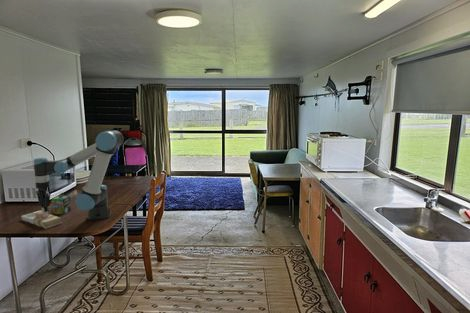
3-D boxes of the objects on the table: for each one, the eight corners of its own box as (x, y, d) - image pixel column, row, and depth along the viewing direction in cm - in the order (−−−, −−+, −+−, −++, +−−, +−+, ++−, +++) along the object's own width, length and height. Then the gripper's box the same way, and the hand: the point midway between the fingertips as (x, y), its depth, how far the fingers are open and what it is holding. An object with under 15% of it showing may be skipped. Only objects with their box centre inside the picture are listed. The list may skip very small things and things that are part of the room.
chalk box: (59, 210, 221) (57, 191, 219) (71, 210, 221) (69, 191, 219) (51, 214, 212) (50, 194, 210) (64, 214, 212) (62, 194, 210)
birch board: (61, 223, 195) (61, 217, 194) (46, 228, 186) (45, 222, 186) (49, 219, 202) (49, 214, 201) (34, 224, 193) (33, 218, 192)
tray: (49, 219, 202) (49, 215, 201) (33, 224, 193) (33, 220, 193) (37, 215, 209) (36, 211, 209) (21, 220, 201) (21, 215, 200)
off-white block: (43, 211, 200) (40, 210, 201) (35, 213, 195) (32, 212, 197) (43, 219, 200) (41, 218, 202) (36, 221, 196) (33, 220, 198)
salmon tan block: (48, 216, 197) (48, 212, 196) (41, 218, 192) (40, 214, 192) (43, 214, 200) (43, 210, 199) (36, 217, 195) (35, 212, 195)
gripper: (54, 181, 191) (56, 216, 194) (42, 179, 197) (45, 212, 200) (41, 184, 184) (45, 219, 188) (30, 181, 190) (33, 216, 194)
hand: (45, 216), depth 194 cm, fingers closed
